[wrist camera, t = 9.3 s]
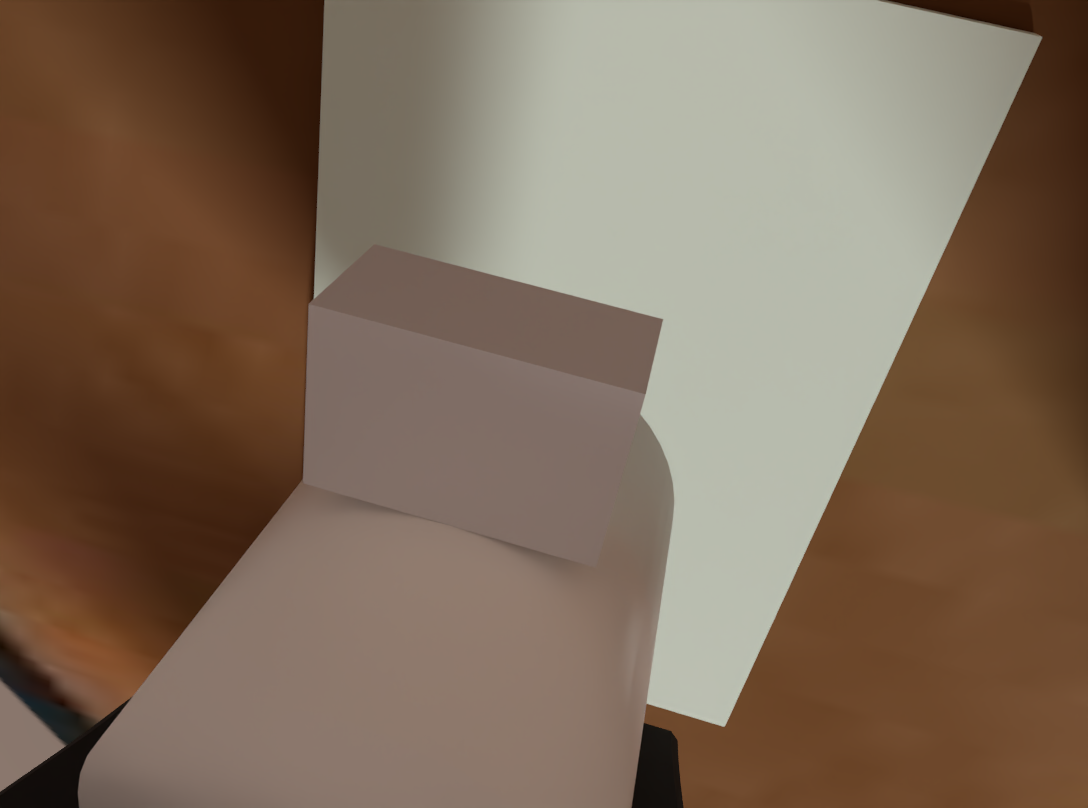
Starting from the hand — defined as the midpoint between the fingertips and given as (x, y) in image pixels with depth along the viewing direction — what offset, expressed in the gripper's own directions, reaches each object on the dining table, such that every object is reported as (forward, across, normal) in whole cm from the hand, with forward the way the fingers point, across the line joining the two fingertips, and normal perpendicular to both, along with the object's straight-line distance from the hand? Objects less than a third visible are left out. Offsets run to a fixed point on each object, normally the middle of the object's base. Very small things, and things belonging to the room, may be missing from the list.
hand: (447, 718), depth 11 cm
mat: (+8, 0, 0) cm, 8 cm away
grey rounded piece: (+1, 0, 0) cm, 1 cm away
